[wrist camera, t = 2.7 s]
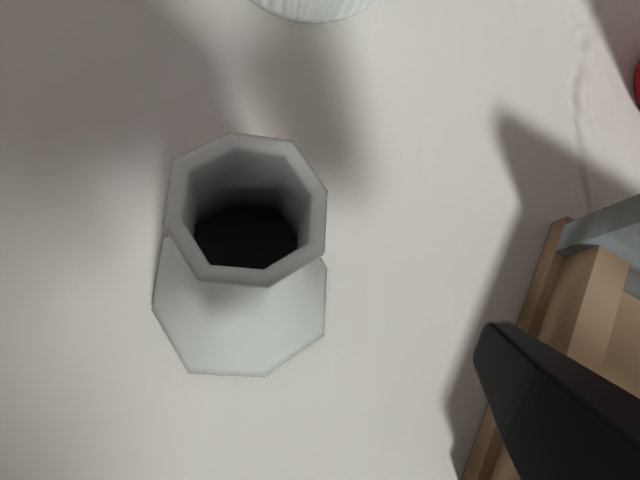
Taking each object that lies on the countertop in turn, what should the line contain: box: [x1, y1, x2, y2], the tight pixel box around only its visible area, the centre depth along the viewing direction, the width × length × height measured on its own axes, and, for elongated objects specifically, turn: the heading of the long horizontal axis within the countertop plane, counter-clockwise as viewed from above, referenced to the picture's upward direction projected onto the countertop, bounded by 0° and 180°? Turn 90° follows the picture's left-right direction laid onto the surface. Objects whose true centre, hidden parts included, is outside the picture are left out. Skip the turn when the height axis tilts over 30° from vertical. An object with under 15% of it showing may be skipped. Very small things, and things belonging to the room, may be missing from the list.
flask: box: [152, 132, 328, 377], centre depth 13 cm, size 7×7×10 cm
